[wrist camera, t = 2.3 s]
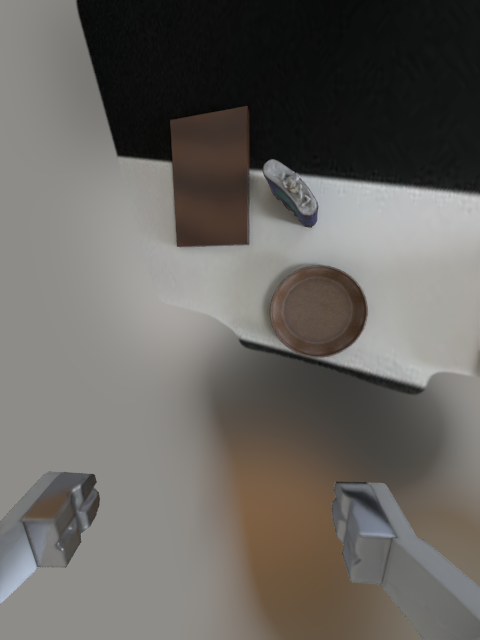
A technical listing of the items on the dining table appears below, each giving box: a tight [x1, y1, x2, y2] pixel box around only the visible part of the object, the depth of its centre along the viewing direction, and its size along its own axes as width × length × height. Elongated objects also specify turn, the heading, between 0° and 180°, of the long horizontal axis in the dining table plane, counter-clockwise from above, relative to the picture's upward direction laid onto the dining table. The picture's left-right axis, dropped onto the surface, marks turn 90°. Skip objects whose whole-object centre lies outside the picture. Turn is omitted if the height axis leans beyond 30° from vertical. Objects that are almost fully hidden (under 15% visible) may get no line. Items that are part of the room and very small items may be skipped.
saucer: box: [270, 265, 368, 358], centre depth 40 cm, size 15×15×3 cm
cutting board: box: [170, 106, 249, 247], centre depth 42 cm, size 20×13×2 cm, turn 1°
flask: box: [263, 159, 318, 228], centre depth 34 cm, size 9×3×11 cm, turn 46°
